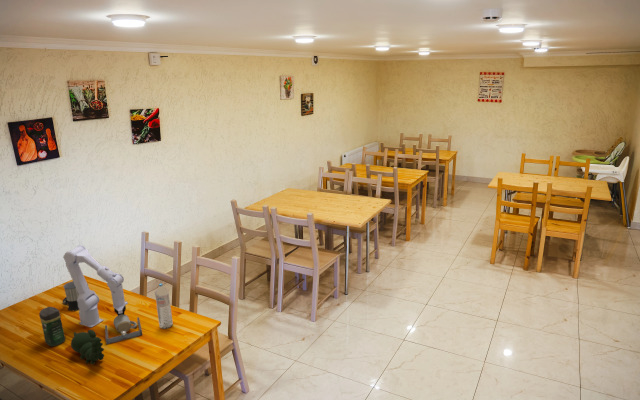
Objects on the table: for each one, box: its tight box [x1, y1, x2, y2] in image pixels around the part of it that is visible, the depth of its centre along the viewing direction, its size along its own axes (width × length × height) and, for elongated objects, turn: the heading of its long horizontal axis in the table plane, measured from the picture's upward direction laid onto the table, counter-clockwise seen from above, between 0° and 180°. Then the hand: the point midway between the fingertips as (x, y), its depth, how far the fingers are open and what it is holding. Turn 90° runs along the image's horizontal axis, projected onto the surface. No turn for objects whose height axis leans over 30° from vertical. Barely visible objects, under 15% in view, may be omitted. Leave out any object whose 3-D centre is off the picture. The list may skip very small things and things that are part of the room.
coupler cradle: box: [104, 316, 143, 345], centre depth 229 cm, size 16×17×4 cm
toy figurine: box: [70, 329, 105, 365], centre depth 208 cm, size 9×19×25 cm
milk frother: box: [62, 280, 89, 312], centre depth 256 cm, size 14×16×15 cm
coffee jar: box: [39, 306, 66, 347], centre depth 220 cm, size 10×8×19 cm
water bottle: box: [154, 282, 174, 330], centre depth 232 cm, size 7×7×25 cm
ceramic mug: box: [113, 313, 138, 334], centre depth 232 cm, size 11×8×8 cm
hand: (121, 319), depth 235 cm, fingers closed
